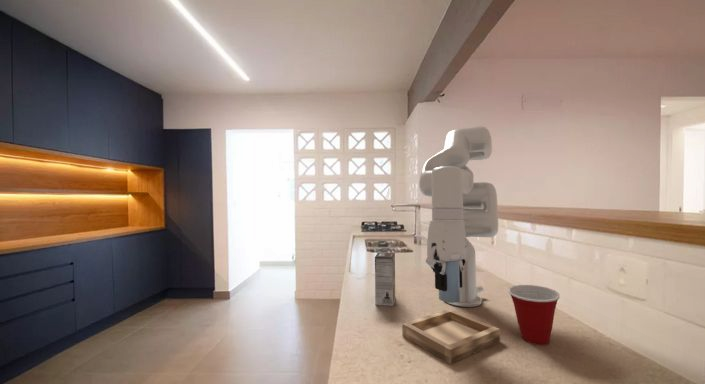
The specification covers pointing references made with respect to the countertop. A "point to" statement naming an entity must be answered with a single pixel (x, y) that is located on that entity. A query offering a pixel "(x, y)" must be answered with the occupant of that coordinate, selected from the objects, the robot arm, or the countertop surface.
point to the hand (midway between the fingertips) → (448, 287)
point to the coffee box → (385, 278)
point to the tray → (450, 335)
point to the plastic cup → (534, 311)
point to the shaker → (451, 281)
